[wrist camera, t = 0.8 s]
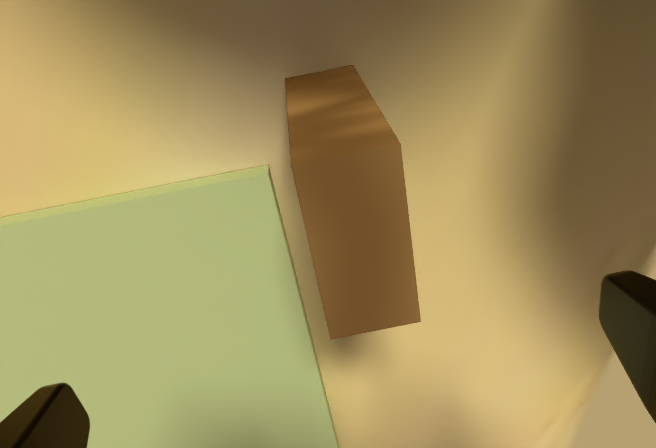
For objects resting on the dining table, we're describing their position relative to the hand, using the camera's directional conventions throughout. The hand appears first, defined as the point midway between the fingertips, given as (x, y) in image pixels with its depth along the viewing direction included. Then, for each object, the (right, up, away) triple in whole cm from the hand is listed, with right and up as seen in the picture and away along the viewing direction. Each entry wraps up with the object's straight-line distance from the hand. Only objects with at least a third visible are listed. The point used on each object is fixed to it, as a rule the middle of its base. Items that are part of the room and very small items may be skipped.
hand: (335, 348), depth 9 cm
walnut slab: (0, +5, +11) cm, 12 cm away
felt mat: (-8, -4, +15) cm, 18 cm away
